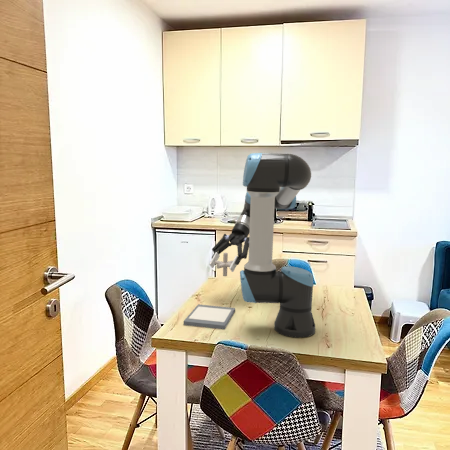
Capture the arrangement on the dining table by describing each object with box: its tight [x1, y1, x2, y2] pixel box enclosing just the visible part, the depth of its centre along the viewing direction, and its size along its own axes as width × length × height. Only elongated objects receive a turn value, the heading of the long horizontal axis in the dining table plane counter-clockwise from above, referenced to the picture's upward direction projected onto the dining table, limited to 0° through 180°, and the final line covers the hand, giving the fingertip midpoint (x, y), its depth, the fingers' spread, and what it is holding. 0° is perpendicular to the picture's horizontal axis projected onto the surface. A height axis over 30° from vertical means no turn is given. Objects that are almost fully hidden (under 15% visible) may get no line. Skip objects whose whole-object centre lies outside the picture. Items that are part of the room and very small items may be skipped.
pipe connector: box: [215, 252, 233, 277], centre depth 184 cm, size 10×10×10 cm
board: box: [183, 304, 236, 330], centre depth 169 cm, size 20×16×2 cm
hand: (221, 268), depth 182 cm, fingers closed on pipe connector, 10 cm apart
